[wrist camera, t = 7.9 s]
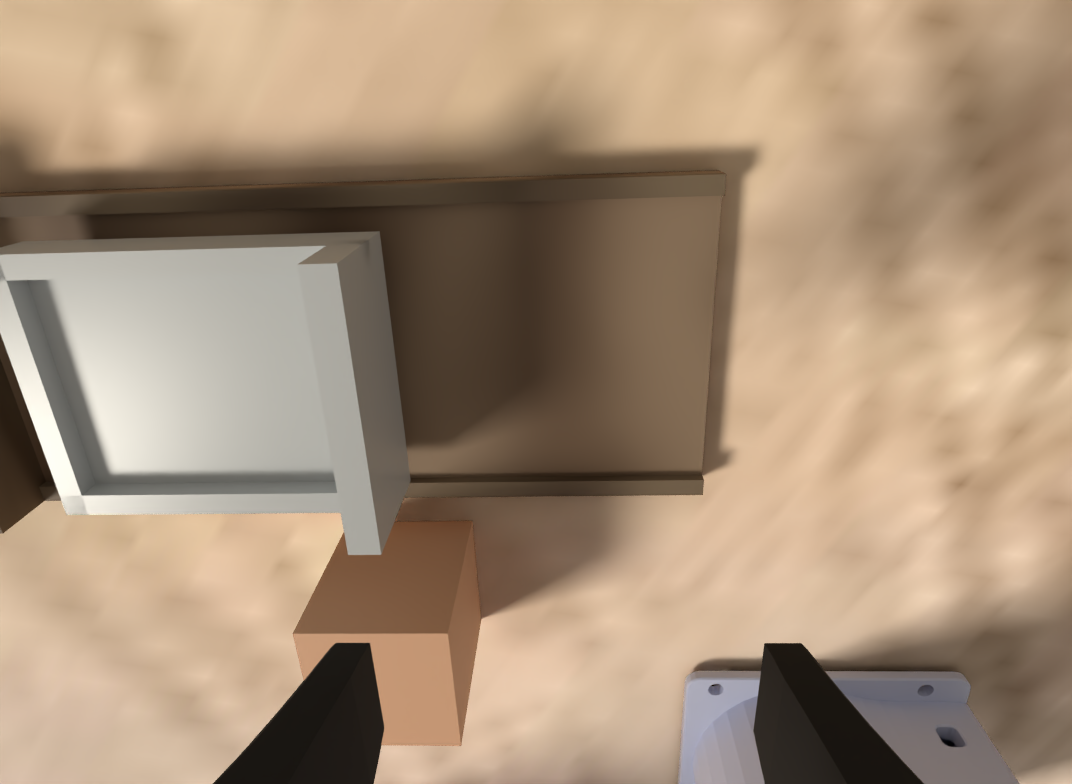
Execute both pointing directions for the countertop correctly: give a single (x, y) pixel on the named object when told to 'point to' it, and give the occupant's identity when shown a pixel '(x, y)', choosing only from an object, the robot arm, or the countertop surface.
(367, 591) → the block
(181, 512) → the tray
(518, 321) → the track
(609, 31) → the countertop surface
